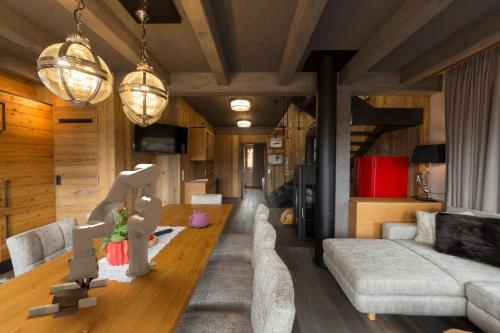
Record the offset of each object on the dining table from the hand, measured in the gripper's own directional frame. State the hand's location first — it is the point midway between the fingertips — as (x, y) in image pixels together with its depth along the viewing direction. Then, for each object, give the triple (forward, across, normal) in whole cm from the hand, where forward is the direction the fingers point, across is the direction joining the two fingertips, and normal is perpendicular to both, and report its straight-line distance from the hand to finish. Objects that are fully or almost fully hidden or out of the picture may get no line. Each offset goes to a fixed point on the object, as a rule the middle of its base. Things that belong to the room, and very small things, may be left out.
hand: (85, 292), depth 100 cm
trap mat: (+1, +3, +12) cm, 12 cm away
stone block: (+2, +7, +5) cm, 9 cm away
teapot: (+5, -61, -98) cm, 115 cm away
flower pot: (+2, +11, -23) cm, 26 cm away
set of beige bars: (+1, +4, +1) cm, 5 cm away
